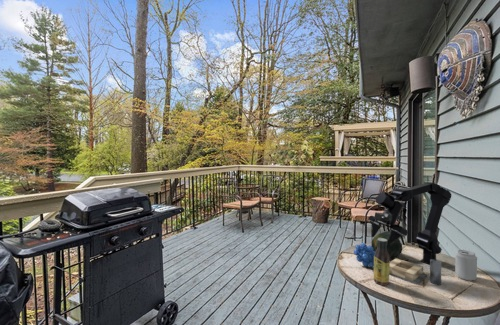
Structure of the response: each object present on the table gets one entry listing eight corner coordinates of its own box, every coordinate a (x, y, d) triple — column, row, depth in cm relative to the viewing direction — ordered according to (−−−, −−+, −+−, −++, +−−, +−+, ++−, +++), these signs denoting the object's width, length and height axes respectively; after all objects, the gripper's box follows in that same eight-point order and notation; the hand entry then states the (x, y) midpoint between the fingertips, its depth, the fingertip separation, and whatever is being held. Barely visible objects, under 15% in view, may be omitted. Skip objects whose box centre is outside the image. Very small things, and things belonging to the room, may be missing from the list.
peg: (431, 279, 113) (431, 258, 113) (442, 283, 110) (442, 261, 109) (428, 282, 111) (428, 260, 110) (439, 286, 107) (439, 263, 107)
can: (471, 274, 117) (472, 249, 116) (480, 282, 110) (480, 256, 109) (452, 272, 119) (452, 248, 119) (459, 280, 112) (460, 254, 112)
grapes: (352, 267, 127) (352, 244, 126) (354, 262, 132) (354, 240, 132) (378, 272, 120) (378, 248, 120) (379, 267, 126) (379, 243, 126)
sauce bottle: (370, 279, 114) (370, 236, 114) (383, 278, 115) (383, 236, 114) (379, 287, 108) (379, 242, 107) (392, 286, 108) (393, 241, 108)
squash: (365, 239, 150) (374, 226, 140) (391, 240, 150) (401, 227, 139) (373, 262, 140) (382, 250, 130) (400, 263, 139) (412, 251, 129)
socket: (392, 264, 128) (392, 257, 128) (426, 276, 116) (426, 267, 116) (381, 272, 121) (381, 264, 121) (416, 284, 109) (416, 275, 109)
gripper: (367, 201, 130) (355, 228, 129) (399, 211, 113) (385, 242, 112) (381, 209, 134) (369, 235, 133) (414, 220, 117) (400, 250, 115)
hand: (379, 240), depth 123 cm, fingers open, 9 cm apart
